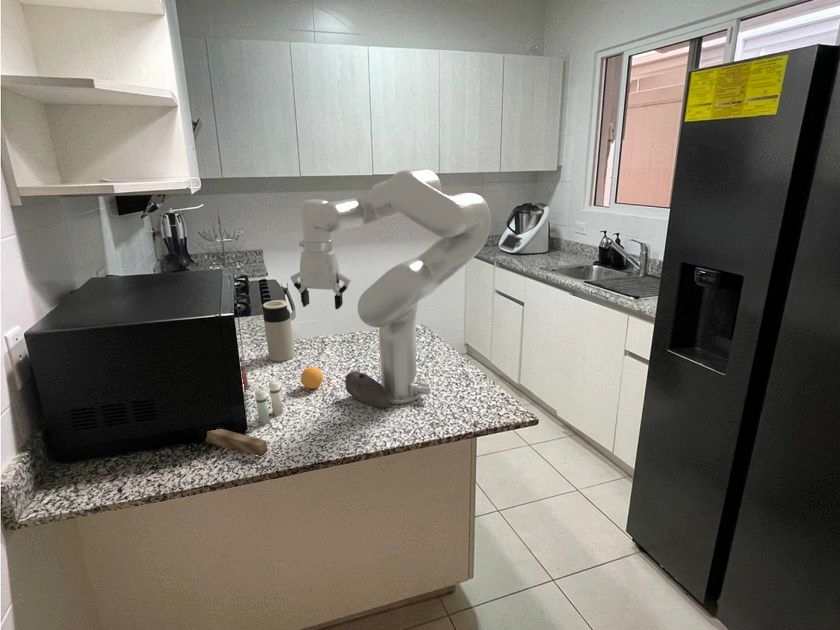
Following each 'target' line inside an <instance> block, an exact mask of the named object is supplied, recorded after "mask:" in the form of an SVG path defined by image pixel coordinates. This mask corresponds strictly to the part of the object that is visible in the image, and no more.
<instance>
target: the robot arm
mask: <svg viewBox="0 0 840 630" xmlns="http://www.w3.org/2000/svg"><path fill="white" fill-rule="evenodd" d="M300 206H301V207H300V210H301V219H302V220H301V223H302V237H303V240H302V241H301V240H300V241H299V243H298V244H299V247H302V249H303V251H301V252H300V253H301V254H300V261H299V262H300V263H299V272H296V273H294V274H292V275H291V276H290V280H291V282H292V284H293V286H294V288H296V289H297V290H298V292H299V294H300V301H301V303H302V304H301V305H302V307H303V308H306V307H307V306H308V305H310V292H309V290H308V289H313V290H315V289H316V290H329V291H331V290H332V291H333V292H334V294H335V295H334V309H335V310H339V309H340V308H341V307H342V306H343V303H344V301H343V294H344V292H345V291H346V290H348V289H349V288H348V287H349V286H350V284H351V282H352V280H351V278H350V277H347V276H346V275H344V274H342V273H340V269H339V263H338V257H337V255H336V254H337V253H336V251H335V250H333V233H336V232H337V233H339V232H341V231H343V232H344V231H345V230H350V229H353V228H359V227H362V226H366V225H368V224H371V223H374V222H377V221H381V220H388V219H392V218H395V217H398V216H401V215H403V216H404V217H406V218H407V219H409V220H411V221H412V222H414V223H415V224H417V225H419V226H421V228H423V229H425V230H427V231H429V232H430V233H432V234H433V235H436V236H437V237H440V238H439V239H438V240H436V241H435V242H434V243H432V245H431V246H429V248H427V249H426V250H425V251H424V252H422V253H420V255H417V256H416V257H414V258H411V259H408V260H406V261H403V262H400V263H399V264H396V265H394V266H393V267H391V268H390V269H388V270H387V271H386V272H385V273H384V274H383V275H382V276H380V277H379V278H378V279H377V280H376V281H375V282H374V283H372V284H371V285H370V286H369V287H368V288H367V289H365V291H363V293H362V294H361V295H360V297H359V299H358V303H357V313H358V317H359V318H360V320H361V321H362V322H363V323H364V324H365V325H367V326H368V327H371V328H378V339H379V340H378V342H379V359H380V360H379V361H380V362H379V363H380V381H381V382H380V384H381V385H382V386H383V387H384V388H385V390H386V391H387V393H388V394H389V397H390V404H396V405H397V404H398V405H400V404H401V405H402V404H407V403H411V402H414V401H417V400H418V399H419V398H420V397H421V396H422V395H426V396H430V393H431V388H430V384H429V383H426V382H424V383H423V382H422V381H421V376H419V375H417V347H416V346H417V344H416V343H417V337H416V334H417V333H416V329H417V328H416V327H417V325H416V324H417V313H418V308H419V302H420V301H421V300H422V299H425V298H426V297H429V296H430V295H432V294H433V293H434V292H435V291H437V290H438V289H439V288H440V287H441V286H442V285H443V284H444V283H446V282H447V281H448V280H449V279H450V278H451V277H453V276H454V275H455V274H457V273H458V272H459V271H460V270H461V269H462V268H464V267H465V266H466V265H467V264H469V262H470V261H472V259H474V258H475V257H476V255H477V254H478V253H479V252H480V251H481V249H482V248H484V245H486V242H487V240H488V238H489V235H490V233H491V232H490V231H491V226H492V215H491V210H490V208H489V206H488V203H487V201H486V200H485V199H484V198H483V196H481V195H479V194H477V193H474V192H473V193H472V192H462V193H456V194H455V193H454V194H452V195H447V194H444V193H442V183H441V180H440V177H438V175H437V174H436V173H434V172H433V171H432V170H429V169H426V168H415V169H414V168H413V169H406V170H405V169H403V170H400V171H397V172H396V173H395V174H393V175H392V176H391V177H390V178H389V179H388V180H384V181H380V182H378V183H376V184H374V185H373V186H372V188H371V190H370V192H369V193H366V194H362V195H360V196H357V197H353V198H348V199H342V200H341V199H340V200H334V201H328V200H326V199H318V198H317V199H315V198H314V199H313V198H312V199H307V200H303V201H302V202H301V205H300ZM340 282H343V285H342V286H341V285H340Z"/></svg>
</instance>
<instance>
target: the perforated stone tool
mask: <svg viewBox="0 0 840 630" xmlns="http://www.w3.org/2000/svg"><path fill="white" fill-rule="evenodd" d="M344 384H345V390H346V392H347V393H348V394H349V395H350V396H352V397H353V398H355V399H357V400H358V401H360V402H362V403H365V404H367V405H370V406H373V407H377V408H381V409H382V408H384V409H385V408H387V407H389V406H390V404H391V403H390V397H389V394H388V393H387V391H386V390H385V388H384V387H383V386H382V385H381V382H378V381H377V380H375V379H374V378H373V377H371V376H369V375H368V374H365V373H363V372H360V371H358V370H354V371H350V372H349V373H348V374H346V375H345V382H344Z"/></svg>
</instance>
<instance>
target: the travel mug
mask: <svg viewBox="0 0 840 630" xmlns="http://www.w3.org/2000/svg"><path fill="white" fill-rule="evenodd" d="M288 305H289V302H288V301H287V300H282V299H281V300H280V299H279V300H269V301H266V302H265V303H263V304H262V307H263V308H264V312H263V323H264V330H265V337H266V339H265V340H266V344H267V345H266V346H267V354H268V359H269V360H270V361H274V362H284V361H288V360H290V359H293V357H294V356H295V346H294V340H293V337H294V336H293V329H292V321H291V312H290V310H289V309H288Z"/></svg>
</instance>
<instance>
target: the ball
mask: <svg viewBox="0 0 840 630" xmlns="http://www.w3.org/2000/svg"><path fill="white" fill-rule="evenodd" d="M323 380H324V375H323V372H322V371H321V370H320V369H319V367H315V366H309V367H306V368H305V369H304V370H303V371H302V372H301V375H300V381H301V384H302V385H303V386H304V387H305V388H307V389H312V390H313V389H316V388H318V387H320V386H321V384H322V382H324V381H323Z"/></svg>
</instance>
